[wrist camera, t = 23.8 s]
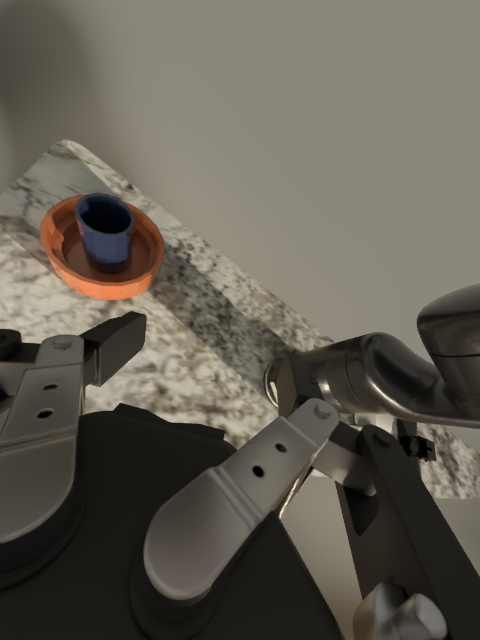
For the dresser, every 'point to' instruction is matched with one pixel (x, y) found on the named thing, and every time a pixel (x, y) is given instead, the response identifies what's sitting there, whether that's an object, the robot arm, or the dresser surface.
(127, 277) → the bowl
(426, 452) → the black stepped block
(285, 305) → the dresser surface
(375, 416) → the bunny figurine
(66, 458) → the robot arm
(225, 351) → the dresser surface
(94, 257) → the blue cup
